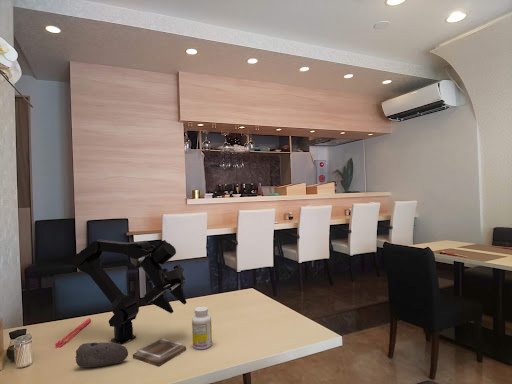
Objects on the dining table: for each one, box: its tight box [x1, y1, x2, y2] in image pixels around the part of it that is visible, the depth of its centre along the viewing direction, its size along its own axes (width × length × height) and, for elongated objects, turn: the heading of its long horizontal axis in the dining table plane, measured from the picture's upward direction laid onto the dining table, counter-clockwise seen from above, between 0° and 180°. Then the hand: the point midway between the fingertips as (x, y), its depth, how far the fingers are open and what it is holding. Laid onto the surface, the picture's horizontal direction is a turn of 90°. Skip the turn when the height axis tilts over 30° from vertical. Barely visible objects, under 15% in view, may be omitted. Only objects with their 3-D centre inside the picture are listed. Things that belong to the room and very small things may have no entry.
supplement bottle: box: [191, 306, 213, 350], centre depth 112 cm, size 7×7×13 cm
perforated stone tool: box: [75, 341, 129, 368], centre depth 101 cm, size 15×5×7 cm, turn 98°
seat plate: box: [132, 337, 187, 367], centre depth 107 cm, size 12×12×2 cm
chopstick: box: [54, 317, 92, 348], centre depth 126 cm, size 24×2×5 cm
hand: (179, 308), depth 113 cm, fingers open, 9 cm apart
